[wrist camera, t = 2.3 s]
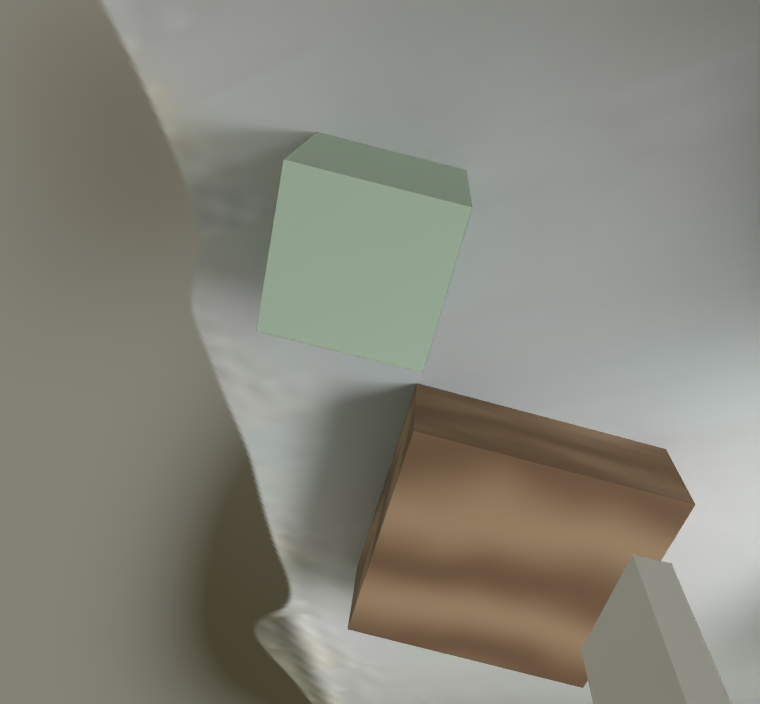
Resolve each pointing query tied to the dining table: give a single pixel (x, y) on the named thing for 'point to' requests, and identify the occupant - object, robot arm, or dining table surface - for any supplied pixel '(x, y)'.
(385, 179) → the sage cube
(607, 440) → the walnut block
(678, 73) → the dining table surface
